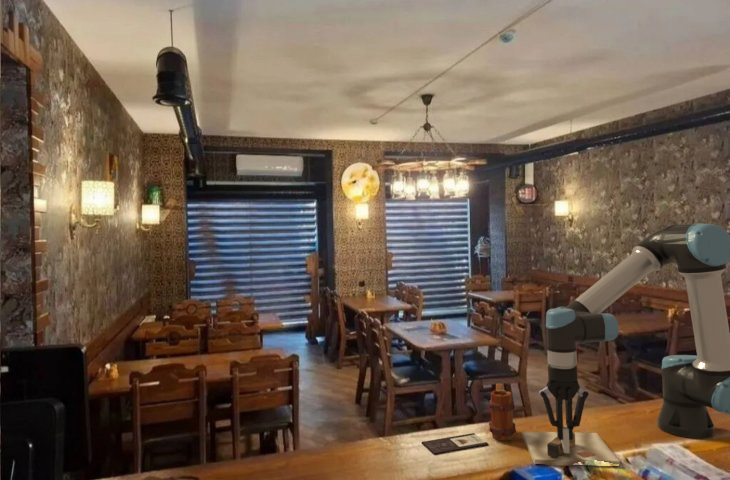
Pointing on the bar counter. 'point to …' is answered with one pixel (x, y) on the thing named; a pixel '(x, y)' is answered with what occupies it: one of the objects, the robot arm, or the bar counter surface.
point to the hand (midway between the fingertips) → (565, 450)
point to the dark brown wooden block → (558, 446)
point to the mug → (502, 414)
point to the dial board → (584, 449)
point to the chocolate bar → (454, 443)
